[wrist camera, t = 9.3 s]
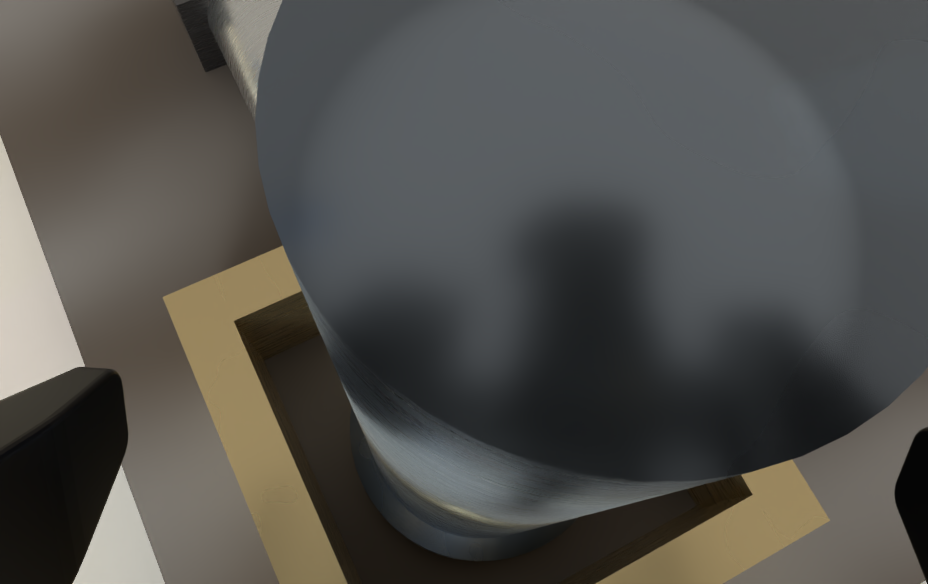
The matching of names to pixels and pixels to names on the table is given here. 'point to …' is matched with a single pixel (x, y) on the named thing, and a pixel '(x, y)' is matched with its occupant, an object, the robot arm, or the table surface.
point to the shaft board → (305, 365)
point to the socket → (291, 323)
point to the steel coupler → (597, 241)
